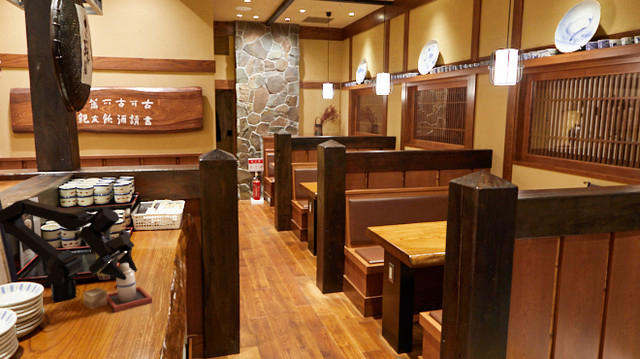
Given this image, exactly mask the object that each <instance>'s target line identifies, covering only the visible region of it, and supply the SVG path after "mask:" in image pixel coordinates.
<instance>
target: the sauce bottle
mask: <svg viewBox="0 0 640 359" xmlns="http://www.w3.org/2000/svg"><path fill="white" fill-rule="evenodd" d="M111 230H112V227H111V228H110V229H109V230H108V231H107V232H102V233H103V234H104V235H105V236H106V237H108V236H111ZM98 258H99V256H98V255H97V254H96V253H95V261H96V260H97V259H98ZM114 259H115V258H114ZM114 259H113V260H114ZM100 271H101V269H99V272H100ZM99 272H97V274H96V276H97V275H98V278H99V281H107V280H111V279H110V275H106V274H103V273H101V274H100V273H99Z"/></svg>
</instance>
